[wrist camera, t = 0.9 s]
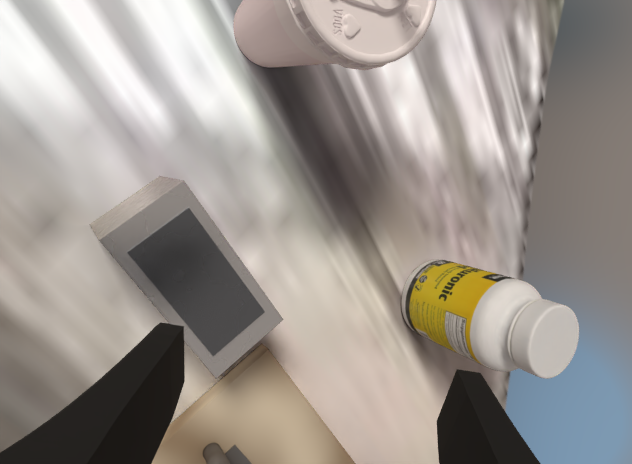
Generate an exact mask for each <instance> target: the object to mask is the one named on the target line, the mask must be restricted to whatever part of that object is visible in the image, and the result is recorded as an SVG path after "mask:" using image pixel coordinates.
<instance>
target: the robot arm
mask: <svg viewBox="0 0 632 464" xmlns="http://www.w3.org/2000/svg"><path fill="white" fill-rule="evenodd" d="M183 384H184V326H179V325H172V324H166V323H160V324H158V325H157V326H156V327H155V328H154V329H153V330H152V331H151V332H150V333H149V334H148V335H147V336H146V337H145V338H144V339H143V340H142V341H141V342H140V343H139V344H138V345H137V346H136V347H134V348H133V349H132V350H131V351H130V352H129V353H128V354H127V355H126V356H125V357H124V358H123V359H122V360H121V361H120V362H119V363H117V364H116V365H115V366H114V367H113V368H112V369H111V370H110V371H109V372H107V373H106V374H105V375H104V376H103V377H102V378H101V379H100V380H98V381H97V382H96V383H95V384H94V385H93V386H91V387H90V388H89V389H88V390H86V391H85V392H84V393H83V394H82V395H80V396H79V397H78V398H77V399H75V400H74V401H73V402H72V403H71V404H69V405H68V406H67V407H65V408H64V409H63V410H62V411H60V412H59V413H58V414H56V415H55V416H54V417H52V418H51V419H50V420H48V421H47V422H45V423H44V424H43V425H41V426H40V427H38V428H37V429H36V430H34V431H33V432H31V433H30V434H28V435H27V436H25V437H24V438H22V439H21V440H19V441H18V442H16V443H15V444H13V445H12V446H10V447H9V448H7V449H5V450H4V451H2V452H1V453H0V464H151V463H152V461H153V459H154V457H155V455H156V453H157V450H158V448H159V446H160V444H161V442H162V440H163V437H164V435H165V433H166V431H167V429H168V426H169V424H170V422H171V420H172V417H173V414H174V411H175V409H176V406H177V403H178V400H179V396H180V393H181V390H182V387H183ZM437 434H438V452H439V463H440V464H540V463H539V461H538V460H537V458H536V457H535V456H534V454H533V453H532V451H531V450H530V448H529V447H528V445H527V444H526V442H525V441H524V440H523V438H522V437H521V435H520V434H519V432H518V431H517V429H516V428H515V427H514V425H513V423H512V422H511V420H510V419H509V417H508V416H507V414H506V412H505V411H504V409H503V408H502V406H501V405H500V403H499V402H498V400H497V398H496V397H495V395H494V394H493V392H492V390H491V389H490V387H489V386H488V384H487V382H486V381H485V379H484V378H483V376H482V375H481V373H476V372H470V371H464V370H457V371H456V373H455V376H454V378H453V381H452V384H451V386H450V389H449V391H448V394H447V396H446V399H445V402H444V404H443V407H442V409H441V412H440V414H439V417H438V420H437Z"/></svg>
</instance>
